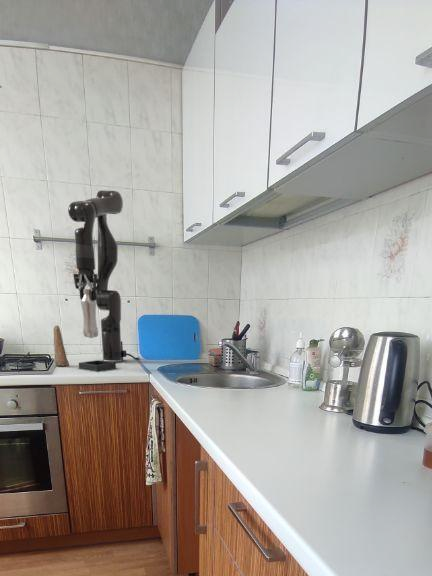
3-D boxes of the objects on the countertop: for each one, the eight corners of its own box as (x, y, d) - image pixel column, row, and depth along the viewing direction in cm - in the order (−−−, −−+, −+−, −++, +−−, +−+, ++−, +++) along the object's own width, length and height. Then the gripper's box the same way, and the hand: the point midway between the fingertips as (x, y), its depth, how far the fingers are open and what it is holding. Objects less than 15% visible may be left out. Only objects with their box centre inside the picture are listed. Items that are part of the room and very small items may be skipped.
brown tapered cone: (68, 366, 220) (54, 366, 217) (62, 326, 215) (48, 326, 212) (70, 365, 214) (57, 366, 212) (64, 324, 210) (50, 325, 207)
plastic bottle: (85, 338, 202) (81, 289, 195) (82, 337, 208) (78, 288, 200) (100, 338, 205) (97, 289, 197) (96, 337, 211) (93, 289, 203)
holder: (98, 365, 220) (98, 360, 219) (116, 368, 214) (115, 362, 213) (79, 368, 211) (78, 362, 210) (96, 371, 205) (96, 365, 204)
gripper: (104, 257, 193) (106, 300, 200) (80, 257, 201) (83, 299, 207) (90, 256, 188) (93, 300, 194) (66, 256, 195) (70, 299, 201)
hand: (88, 300), depth 200 cm, fingers closed on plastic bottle, 6 cm apart
